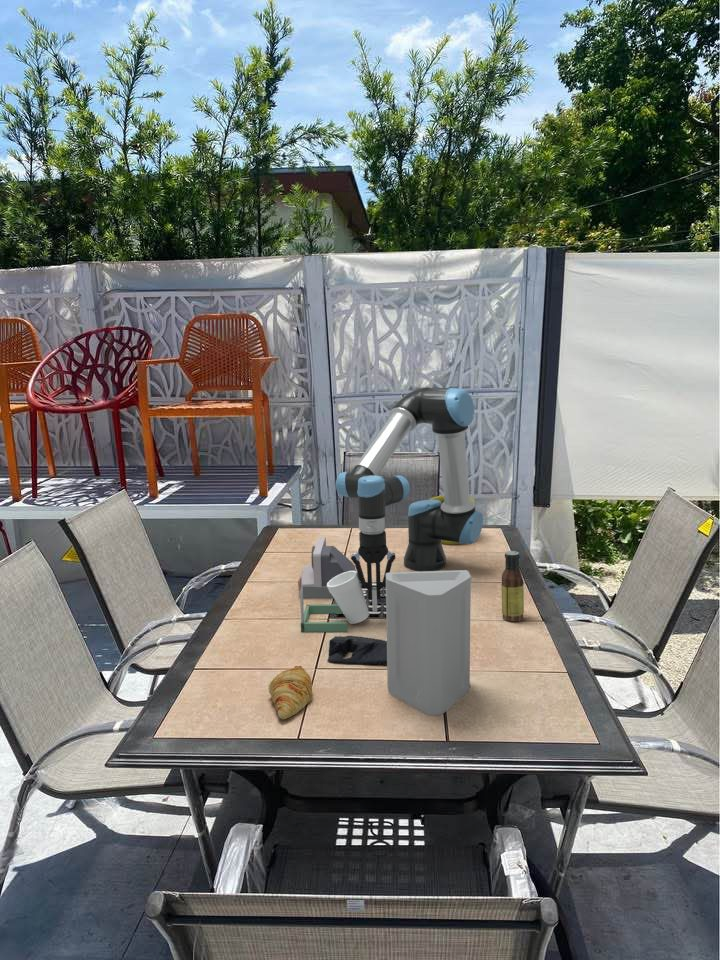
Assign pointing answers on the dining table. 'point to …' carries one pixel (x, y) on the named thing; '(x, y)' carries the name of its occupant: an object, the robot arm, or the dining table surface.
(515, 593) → the sauce bottle
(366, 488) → the robot arm
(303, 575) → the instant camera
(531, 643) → the dining table surface
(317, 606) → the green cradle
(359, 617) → the foam cup
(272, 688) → the croissant
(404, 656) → the grey triangular prism
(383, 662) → the crumpled black cloth
